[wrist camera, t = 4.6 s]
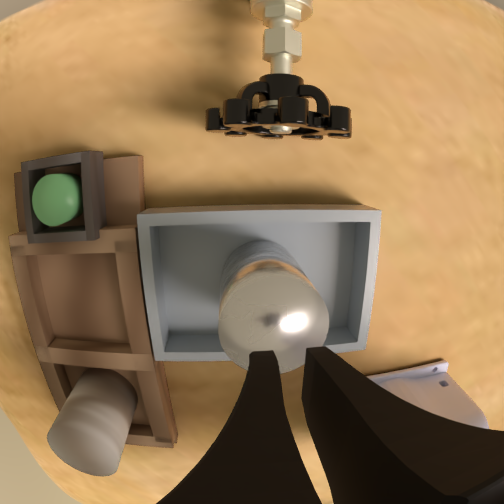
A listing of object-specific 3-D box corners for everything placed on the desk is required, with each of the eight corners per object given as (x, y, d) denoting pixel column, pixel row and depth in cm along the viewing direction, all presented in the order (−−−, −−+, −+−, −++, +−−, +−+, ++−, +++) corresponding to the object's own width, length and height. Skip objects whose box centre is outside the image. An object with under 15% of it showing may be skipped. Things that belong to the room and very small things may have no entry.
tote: (363, 204, 18) (381, 210, 15) (351, 330, 20) (365, 349, 18) (148, 208, 17) (136, 214, 15) (162, 339, 19) (155, 360, 17)
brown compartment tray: (142, 148, 16) (91, 139, 9) (178, 434, 21) (168, 505, 15) (22, 166, 15) (-54, 173, 9) (82, 424, 21) (55, 485, 14)
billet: (299, 239, 18) (333, 274, 12) (297, 311, 19) (323, 369, 13) (219, 241, 17) (215, 278, 12) (222, 315, 18) (221, 376, 13)
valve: (219, -36, 13) (209, 138, 16) (217, -102, 7) (198, 120, 10) (324, -27, 14) (329, 143, 17) (358, -85, 7) (382, 132, 10)
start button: (86, 170, 15) (71, 171, 13) (89, 218, 15) (75, 224, 14) (47, 175, 15) (30, 177, 13) (50, 221, 15) (34, 227, 14)
